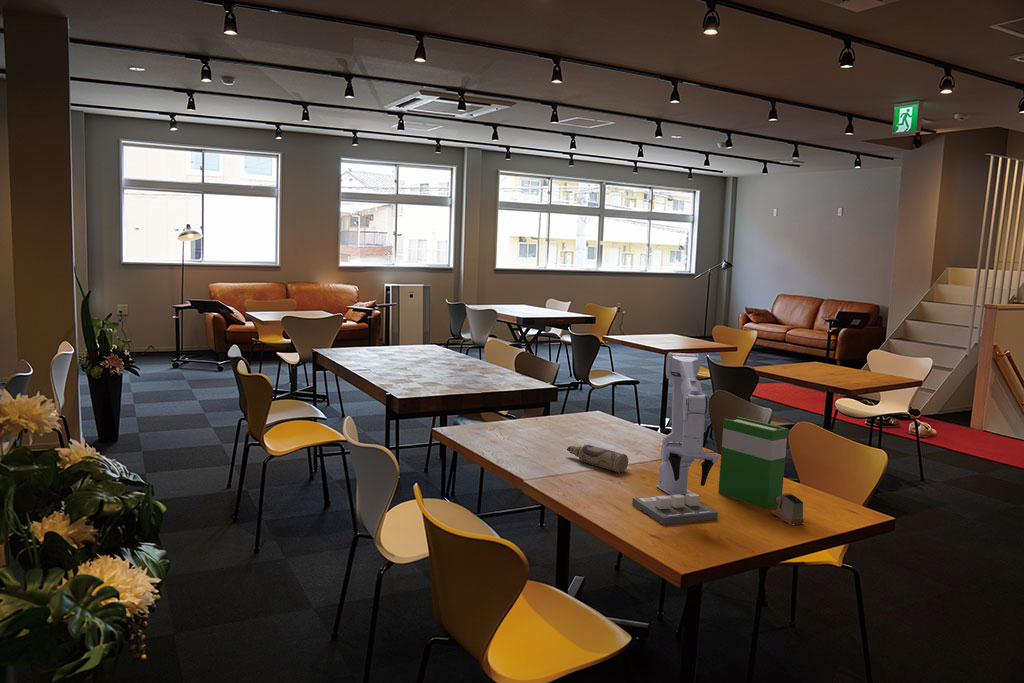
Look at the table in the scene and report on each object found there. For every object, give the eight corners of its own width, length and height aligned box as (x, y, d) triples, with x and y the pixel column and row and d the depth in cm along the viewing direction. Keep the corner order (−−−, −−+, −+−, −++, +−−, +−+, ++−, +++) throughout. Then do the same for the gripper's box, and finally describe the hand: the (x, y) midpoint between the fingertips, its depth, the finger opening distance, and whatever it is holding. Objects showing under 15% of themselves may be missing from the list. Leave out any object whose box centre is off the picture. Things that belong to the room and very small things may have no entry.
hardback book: (718, 492, 231) (723, 418, 228) (732, 489, 235) (738, 416, 233) (766, 509, 217) (773, 431, 214) (781, 505, 221) (787, 428, 219)
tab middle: (670, 505, 211) (671, 494, 210) (679, 504, 212) (680, 494, 211) (675, 507, 208) (675, 497, 208) (684, 507, 209) (684, 496, 209)
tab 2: (685, 503, 212) (685, 493, 212) (693, 502, 213) (694, 493, 213) (690, 506, 210) (690, 496, 210) (698, 505, 211) (699, 495, 211)
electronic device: (782, 513, 214) (784, 488, 213) (804, 525, 205) (806, 499, 204) (769, 514, 213) (771, 489, 212) (790, 526, 204) (793, 500, 203)
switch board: (632, 504, 216) (632, 497, 216) (684, 499, 223) (684, 493, 222) (662, 524, 201) (663, 517, 200) (717, 519, 207) (718, 511, 207)
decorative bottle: (629, 471, 251) (630, 452, 250) (615, 475, 246) (616, 456, 245) (575, 454, 270) (576, 437, 269) (561, 457, 265) (561, 439, 264)
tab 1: (655, 506, 209) (656, 496, 209) (664, 505, 210) (665, 495, 210) (660, 509, 207) (660, 499, 206) (669, 508, 208) (669, 498, 207)
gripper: (663, 434, 207) (660, 480, 208) (714, 443, 200) (711, 491, 201) (671, 430, 213) (668, 475, 214) (721, 438, 206) (717, 484, 207)
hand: (689, 482), depth 208 cm, fingers open, 7 cm apart
